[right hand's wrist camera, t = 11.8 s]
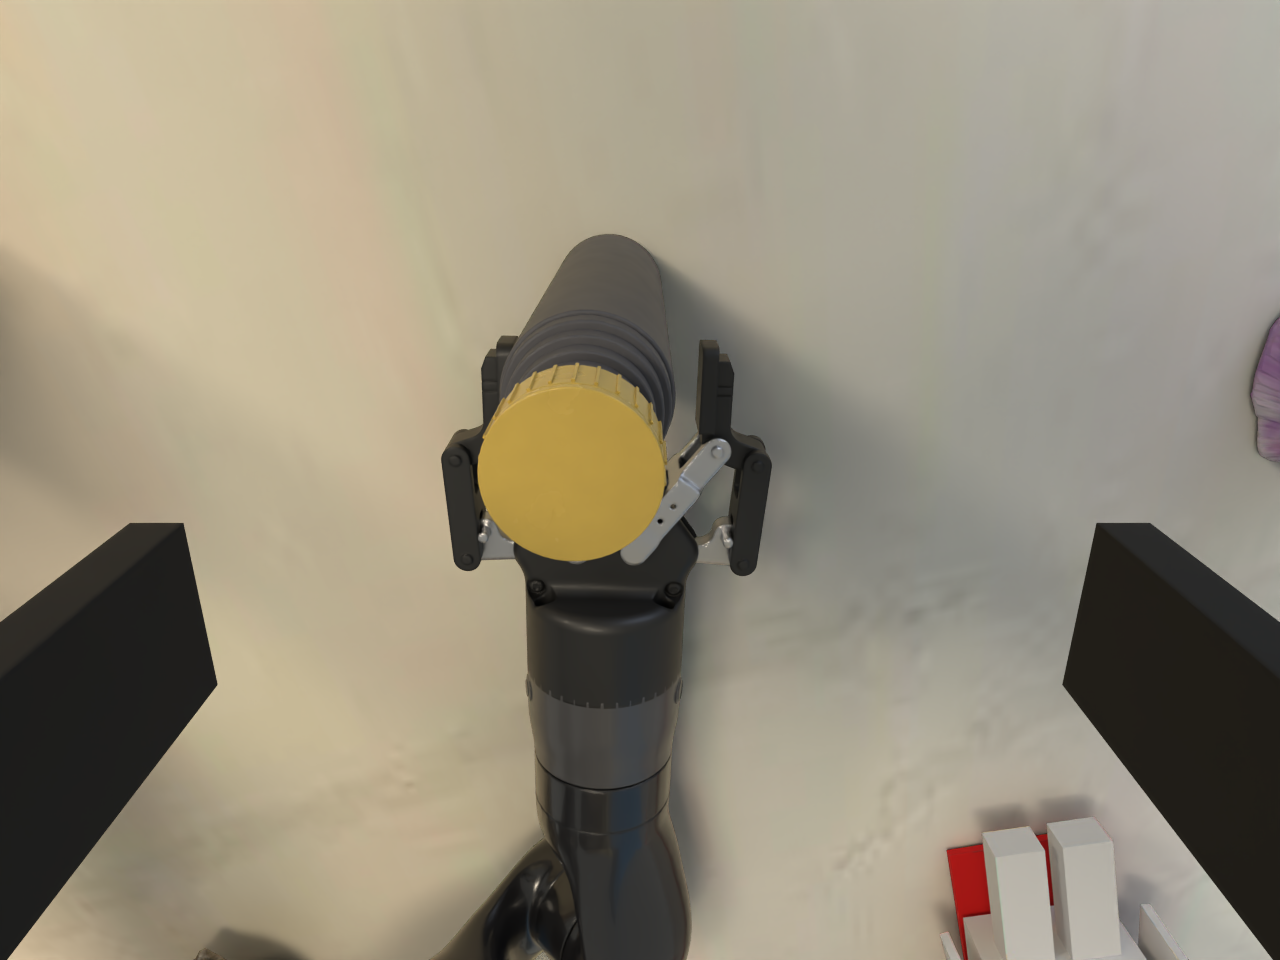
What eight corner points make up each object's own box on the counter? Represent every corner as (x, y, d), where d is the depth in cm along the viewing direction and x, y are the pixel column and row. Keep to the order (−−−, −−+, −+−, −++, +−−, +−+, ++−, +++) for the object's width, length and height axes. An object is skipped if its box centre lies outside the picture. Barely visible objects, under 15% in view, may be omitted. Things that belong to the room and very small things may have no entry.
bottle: (537, 271, 41) (414, 439, 19) (624, 212, 40) (603, 316, 18) (595, 357, 43) (545, 606, 20) (681, 303, 42) (726, 501, 20)
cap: (453, 423, 20) (435, 450, 19) (602, 326, 20) (598, 346, 18) (555, 556, 22) (547, 595, 20) (699, 472, 21) (704, 504, 19)
